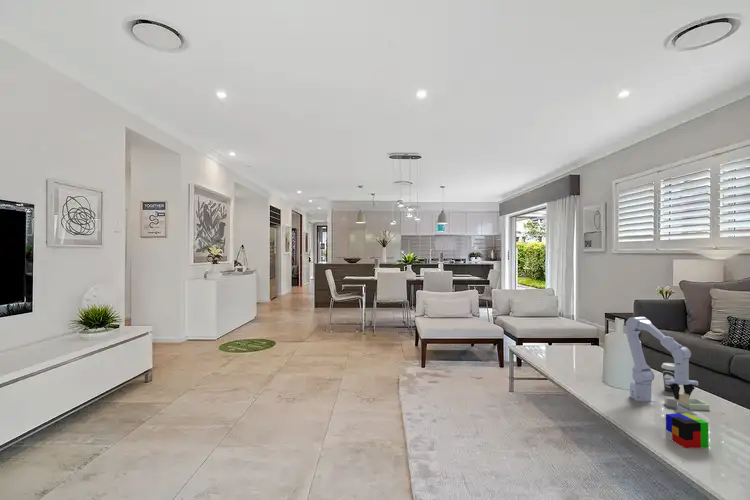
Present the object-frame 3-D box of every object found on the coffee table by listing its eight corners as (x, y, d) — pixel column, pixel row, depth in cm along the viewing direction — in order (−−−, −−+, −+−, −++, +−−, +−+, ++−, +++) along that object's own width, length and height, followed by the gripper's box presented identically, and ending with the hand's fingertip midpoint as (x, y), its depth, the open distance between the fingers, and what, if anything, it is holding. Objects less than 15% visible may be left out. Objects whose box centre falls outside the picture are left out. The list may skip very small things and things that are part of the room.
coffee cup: (685, 394, 231) (685, 367, 231) (666, 392, 233) (666, 366, 233) (676, 388, 240) (676, 362, 241) (658, 387, 242) (658, 362, 242)
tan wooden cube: (680, 403, 203) (680, 394, 203) (674, 400, 207) (674, 391, 207) (689, 403, 203) (689, 394, 203) (683, 400, 207) (683, 391, 207)
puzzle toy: (666, 437, 176) (665, 414, 176) (687, 436, 177) (687, 413, 177) (685, 448, 166) (685, 423, 166) (708, 447, 167) (708, 422, 167)
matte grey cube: (667, 406, 211) (667, 398, 211) (664, 403, 215) (664, 396, 215) (677, 407, 209) (677, 399, 209) (674, 404, 213) (674, 397, 213)
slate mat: (679, 415, 200) (679, 414, 200) (662, 404, 214) (662, 404, 214) (697, 415, 200) (697, 415, 200) (678, 405, 214) (678, 404, 214)
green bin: (690, 410, 207) (690, 404, 207) (678, 403, 216) (678, 398, 216) (709, 410, 206) (709, 405, 206) (696, 404, 215) (696, 398, 215)
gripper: (671, 373, 202) (671, 401, 202) (702, 374, 201) (702, 402, 201) (662, 369, 209) (662, 396, 209) (692, 370, 208) (692, 397, 208)
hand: (681, 399), depth 205 cm, fingers closed on tan wooden cube, 4 cm apart
